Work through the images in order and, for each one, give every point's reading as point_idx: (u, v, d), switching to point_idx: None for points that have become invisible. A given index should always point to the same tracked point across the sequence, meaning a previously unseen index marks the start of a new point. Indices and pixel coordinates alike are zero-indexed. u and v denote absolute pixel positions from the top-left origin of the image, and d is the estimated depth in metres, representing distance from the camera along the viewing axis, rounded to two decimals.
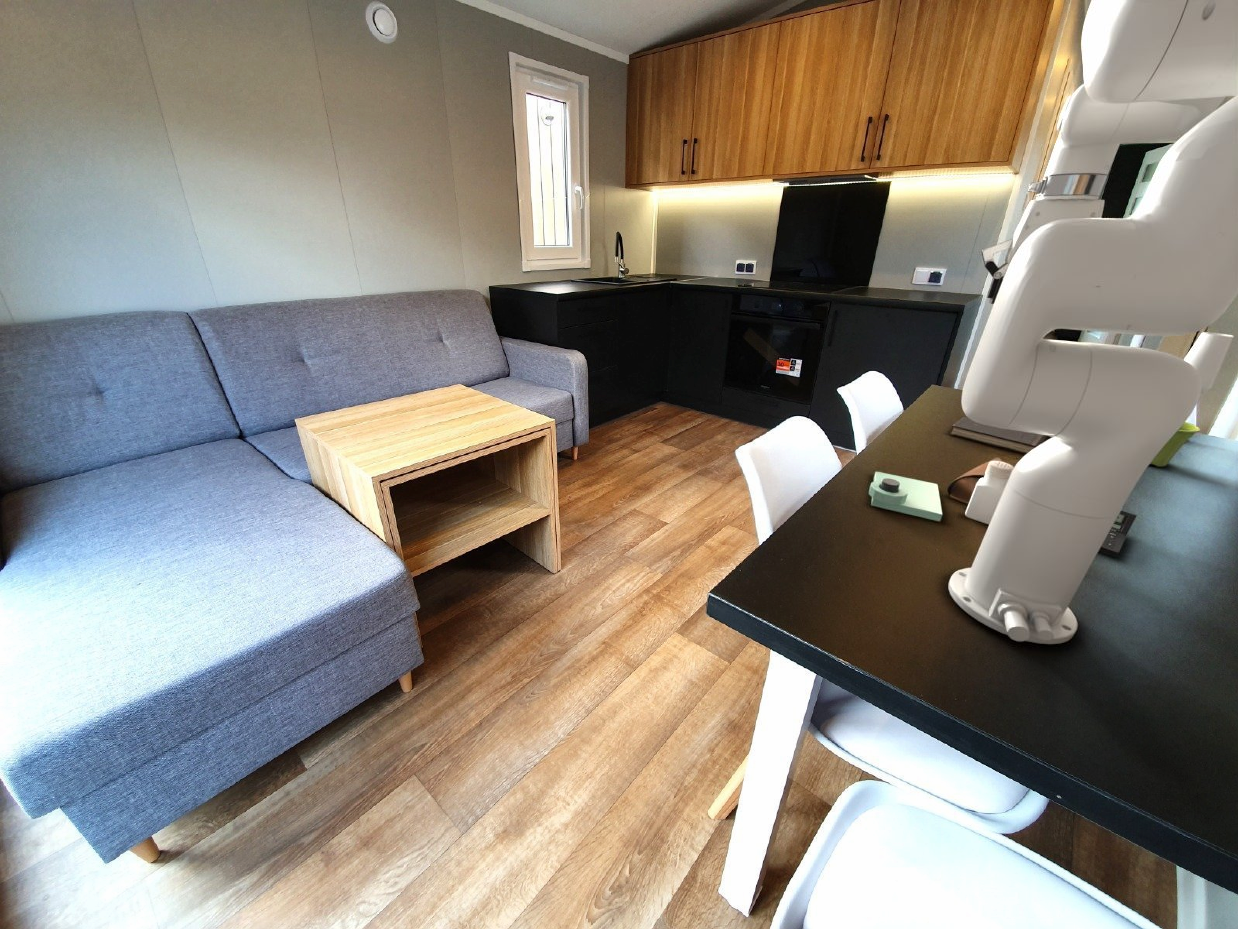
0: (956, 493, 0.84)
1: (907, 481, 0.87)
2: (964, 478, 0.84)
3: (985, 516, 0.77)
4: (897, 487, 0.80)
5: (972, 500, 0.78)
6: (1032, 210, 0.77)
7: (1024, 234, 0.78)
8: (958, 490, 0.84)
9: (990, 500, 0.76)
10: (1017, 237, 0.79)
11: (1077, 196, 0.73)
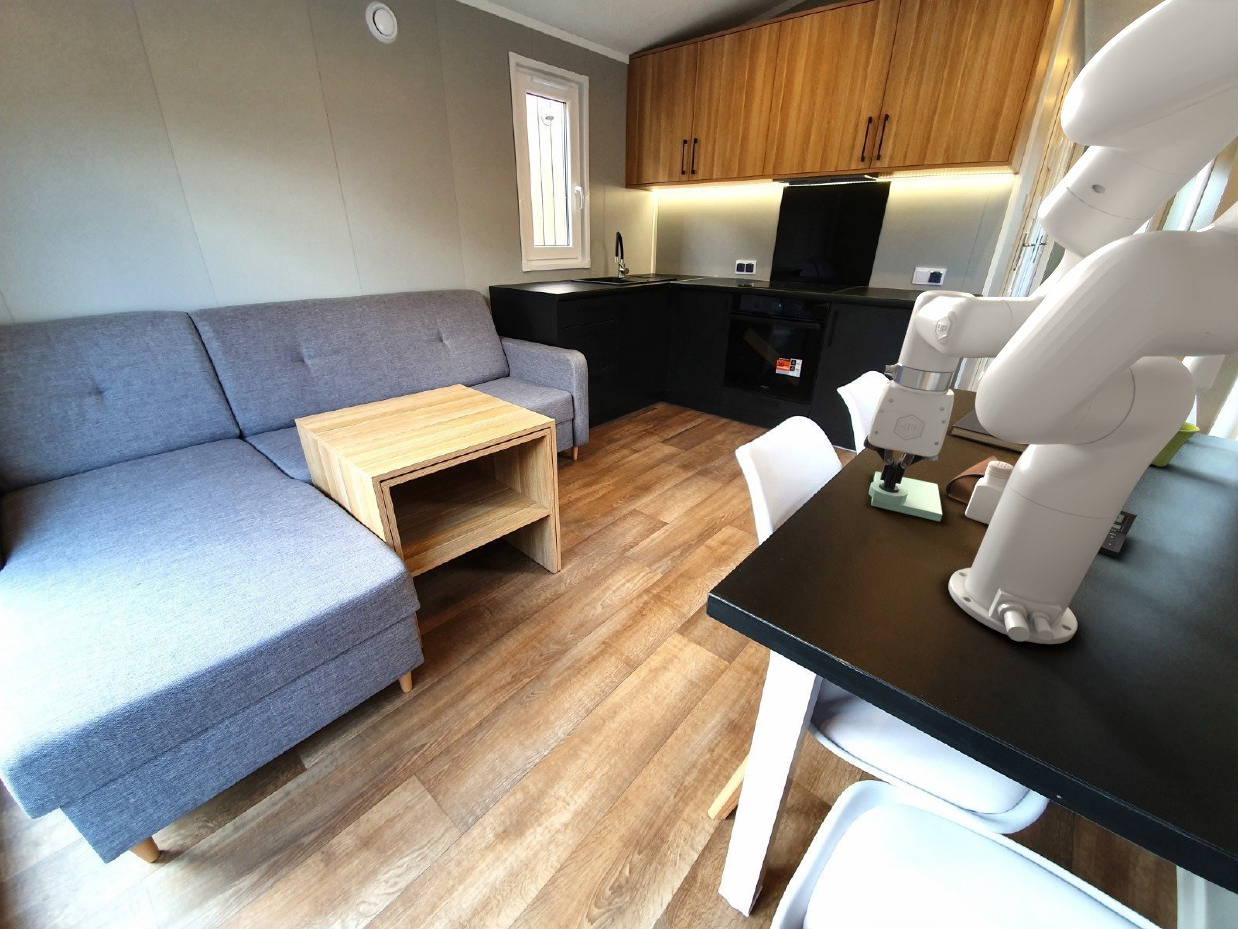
0: (954, 492, 0.85)
1: (907, 481, 0.87)
2: (962, 477, 0.84)
3: (985, 516, 0.77)
4: (896, 492, 0.80)
5: (972, 500, 0.78)
6: (886, 396, 0.74)
7: (880, 417, 0.76)
8: (957, 490, 0.84)
9: (990, 500, 0.76)
10: (874, 418, 0.76)
11: (924, 391, 0.71)
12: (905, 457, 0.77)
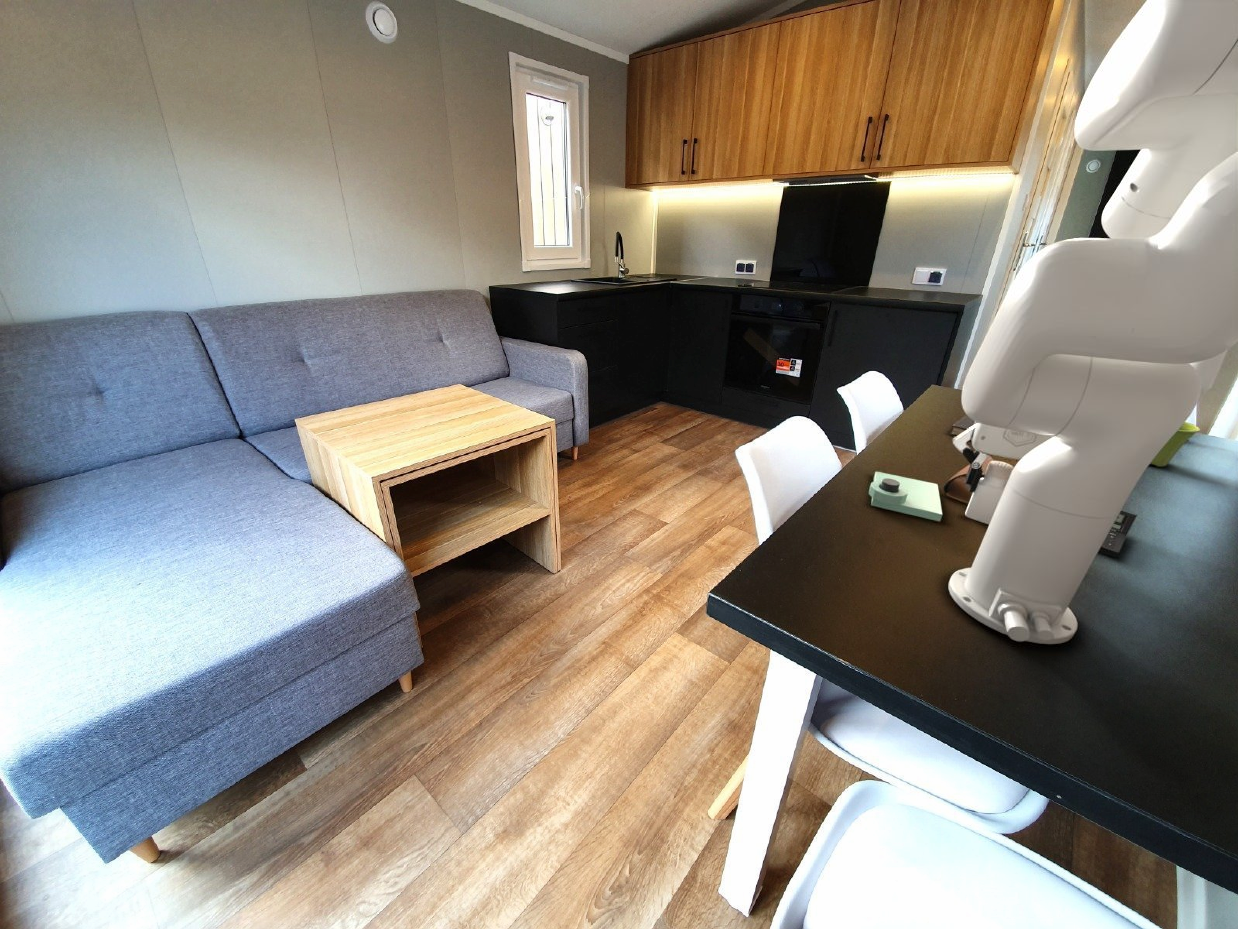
0: (952, 492, 0.85)
1: (907, 481, 0.87)
2: (960, 477, 0.84)
3: (985, 516, 0.77)
4: (897, 487, 0.80)
5: (972, 500, 0.78)
6: None
7: None
8: (955, 489, 0.84)
9: (990, 500, 0.76)
10: (981, 423, 0.73)
11: None
12: None
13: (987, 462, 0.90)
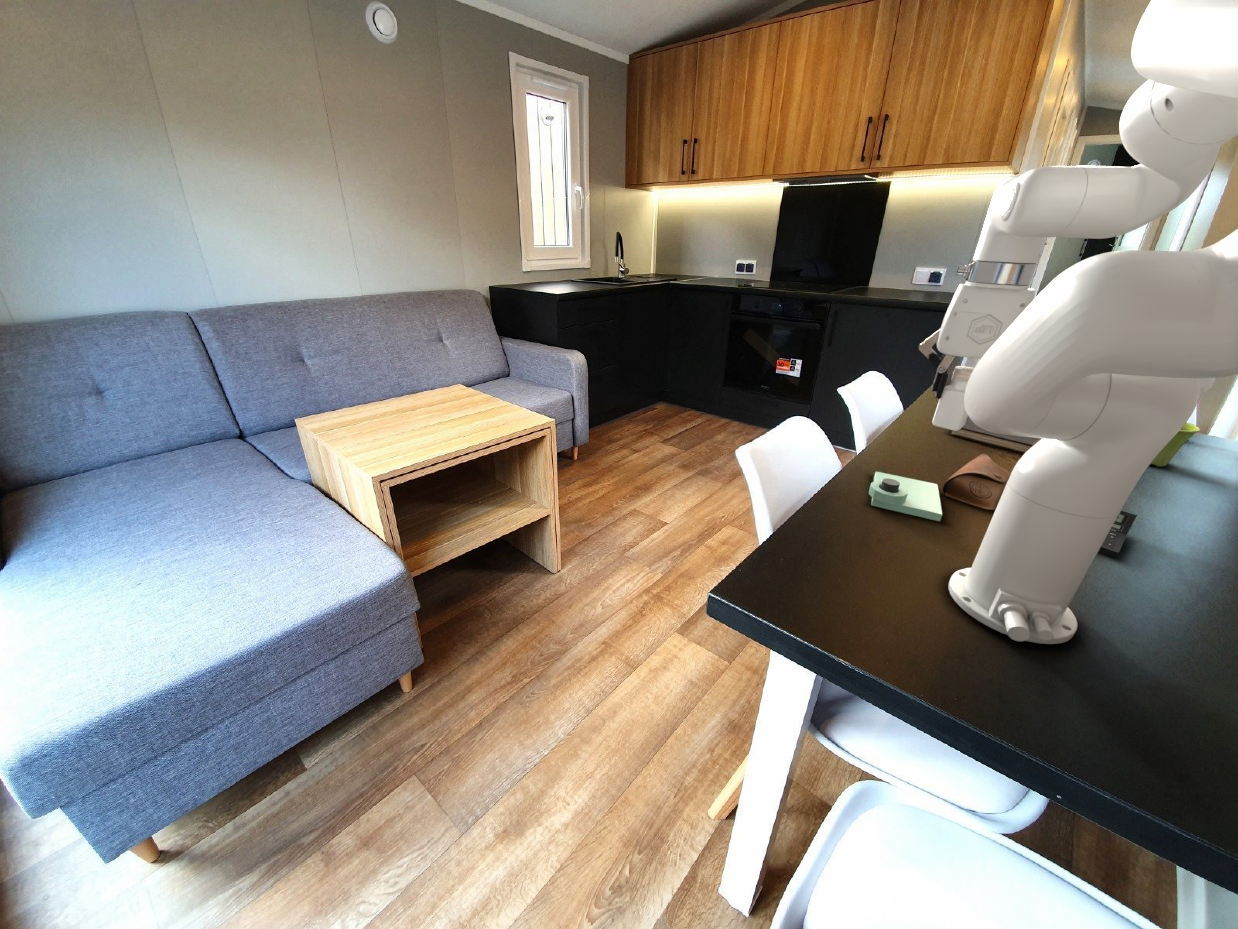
0: (951, 491, 0.85)
1: (907, 481, 0.87)
2: (959, 476, 0.84)
3: (951, 421, 0.77)
4: (897, 487, 0.80)
5: (938, 407, 0.78)
6: (959, 296, 0.70)
7: (952, 321, 0.72)
8: (954, 489, 0.84)
9: (956, 404, 0.76)
10: (945, 323, 0.72)
11: (1005, 286, 0.67)
12: None
13: (984, 461, 0.90)
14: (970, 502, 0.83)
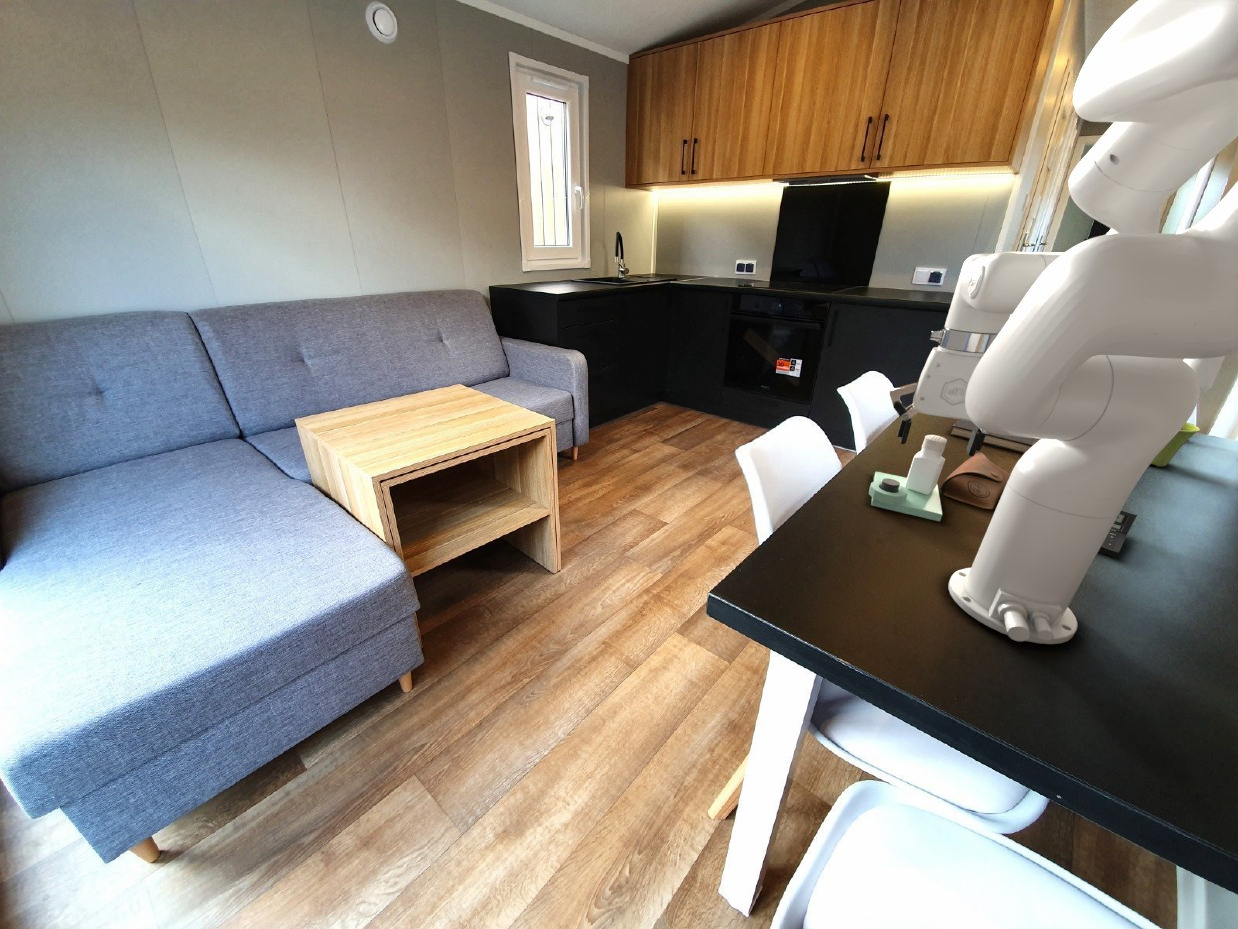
0: (950, 491, 0.85)
1: None
2: (957, 476, 0.85)
3: (922, 486, 0.82)
4: (897, 487, 0.80)
5: (910, 472, 0.83)
6: (933, 361, 0.75)
7: (926, 383, 0.76)
8: (952, 488, 0.85)
9: (926, 471, 0.81)
10: (920, 384, 0.77)
11: (974, 354, 0.71)
12: None
13: (981, 460, 0.90)
14: (969, 501, 0.83)
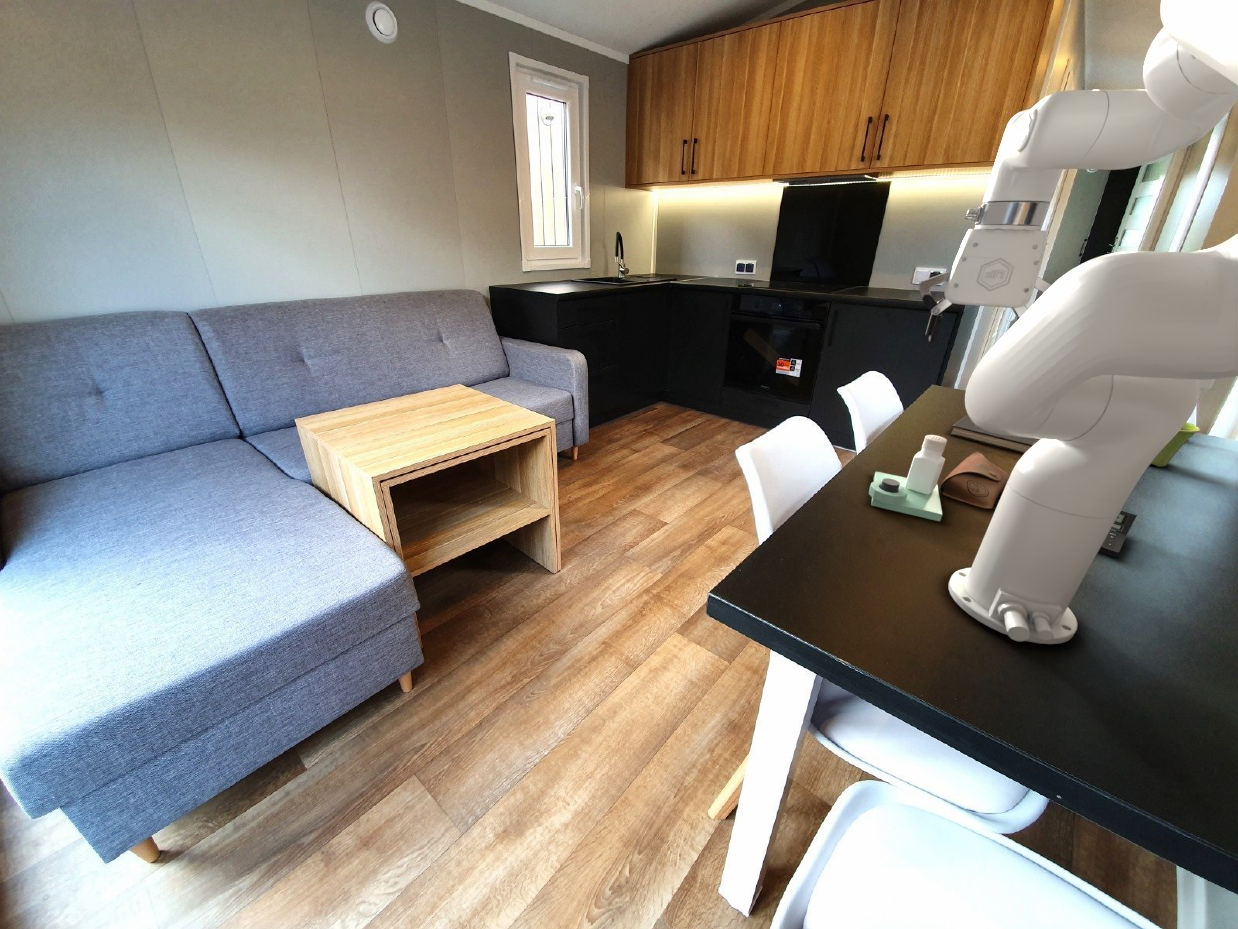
0: (949, 491, 0.85)
1: None
2: (956, 476, 0.85)
3: (922, 486, 0.82)
4: (897, 487, 0.80)
5: (910, 472, 0.83)
6: (969, 240, 0.68)
7: (961, 267, 0.69)
8: (951, 488, 0.85)
9: (926, 471, 0.81)
10: (954, 270, 0.70)
11: (1017, 226, 0.64)
12: (1018, 312, 0.69)
13: (979, 459, 0.91)
14: (968, 501, 0.83)
